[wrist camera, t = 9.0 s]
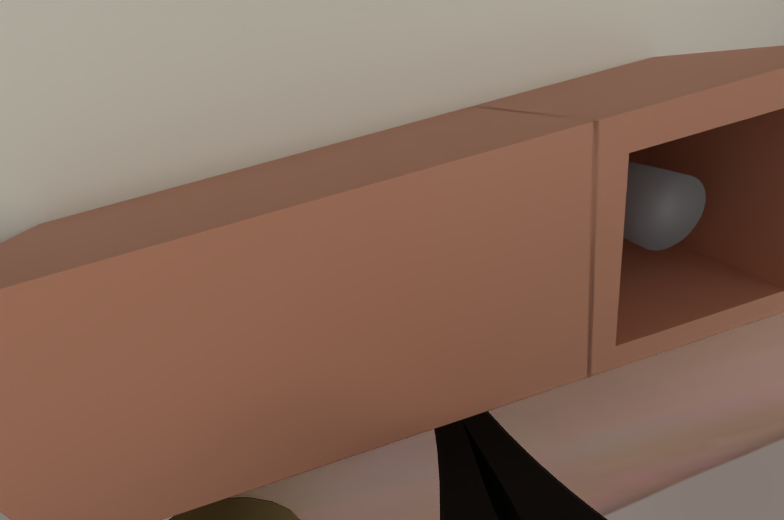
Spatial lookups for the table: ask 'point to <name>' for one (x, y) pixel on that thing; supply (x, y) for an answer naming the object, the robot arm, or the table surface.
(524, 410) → the table surface
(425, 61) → the board
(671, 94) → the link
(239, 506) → the cork
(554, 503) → the robot arm
